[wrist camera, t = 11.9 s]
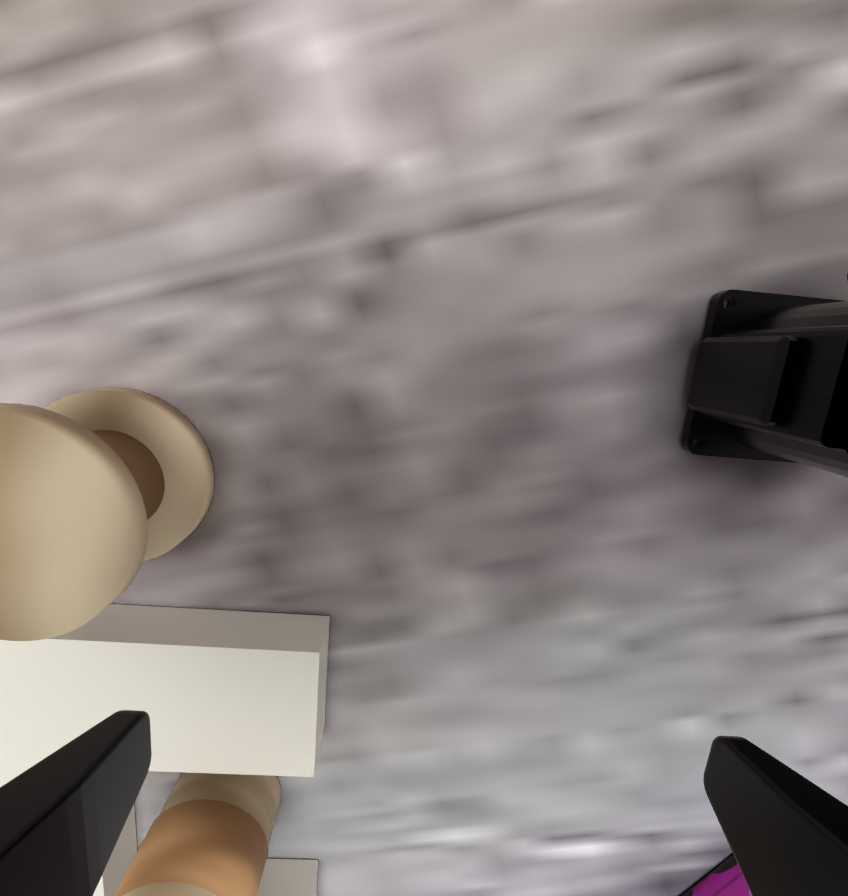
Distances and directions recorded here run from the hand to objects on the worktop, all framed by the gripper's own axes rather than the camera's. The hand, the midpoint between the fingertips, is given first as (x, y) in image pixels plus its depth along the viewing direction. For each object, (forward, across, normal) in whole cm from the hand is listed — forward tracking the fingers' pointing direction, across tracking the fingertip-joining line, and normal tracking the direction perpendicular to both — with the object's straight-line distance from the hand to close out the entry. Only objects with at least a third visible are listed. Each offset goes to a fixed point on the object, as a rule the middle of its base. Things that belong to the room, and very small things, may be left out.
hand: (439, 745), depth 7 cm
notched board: (+12, +10, +16) cm, 23 cm away
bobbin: (+12, +12, 0) cm, 17 cm away
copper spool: (+12, +8, +16) cm, 22 cm away
